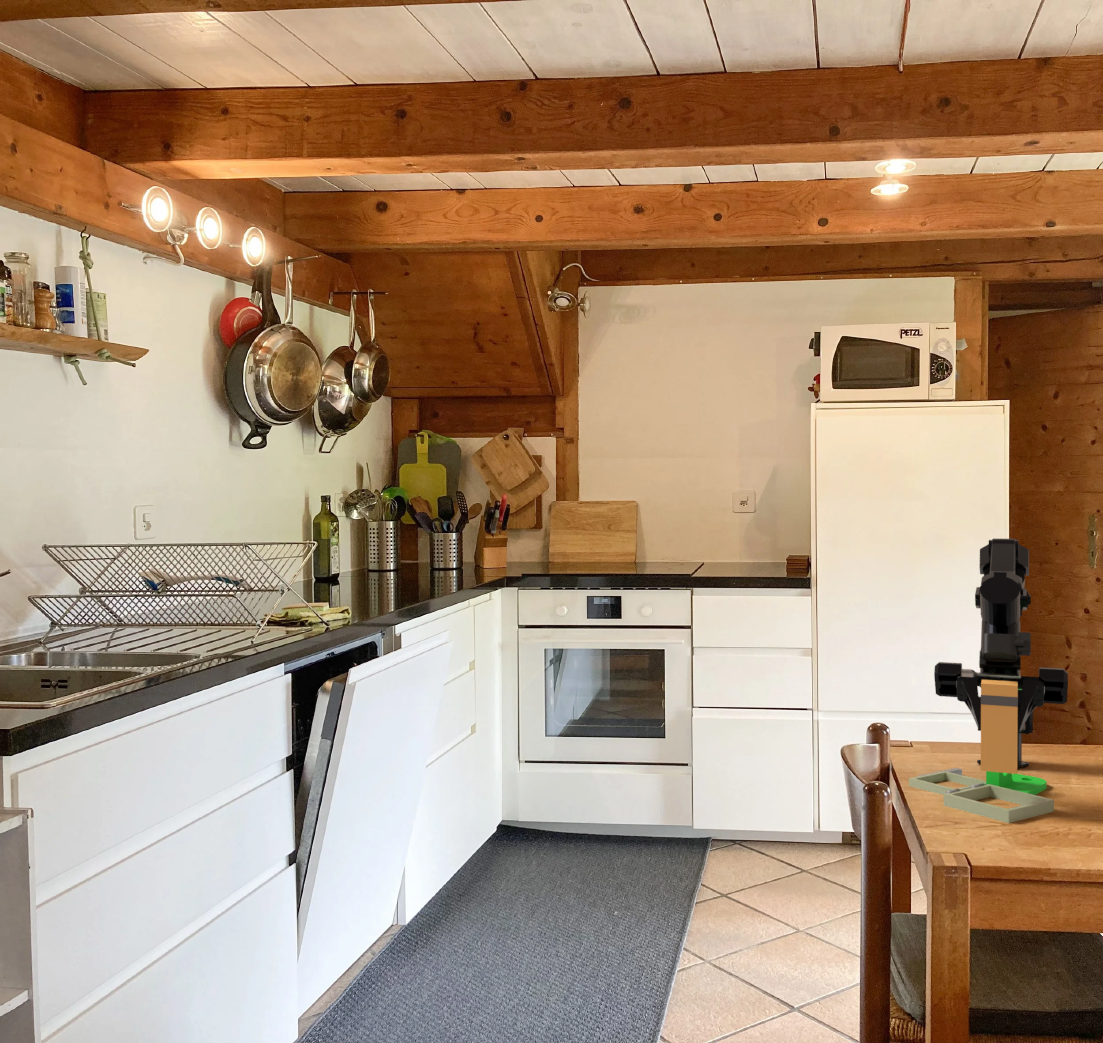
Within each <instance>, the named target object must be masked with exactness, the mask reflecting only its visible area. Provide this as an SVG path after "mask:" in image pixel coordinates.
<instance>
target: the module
mask: <svg viewBox="0 0 1103 1043" xmlns="http://www.w3.org/2000/svg"><path fill="white" fill-rule="evenodd" d="M980 697H981V731H980V760H981V764H980V771H982V772H986V771H990V772H1001V773H1012V774H1018V768H1017V728H1018V682H1015V681H998V680H982V681H981V688H980Z"/></svg>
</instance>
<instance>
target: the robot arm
mask: <svg viewBox="0 0 1103 1043" xmlns="http://www.w3.org/2000/svg"><path fill="white" fill-rule="evenodd" d="M1019 542H1020V540H1019V539H1016V538H992V539H988V544H986V545H985V546H983V547H981V548H980V549H979V574H980V575H983V576H982V577H981V580H980V581H981V583H980V586H976V588H975V593H974V604H975V607H976V609H980V616H981V617H980V618H981V627H980V628H981V632H980V634H981V635H980V650H979V661H978V665H979V668H980V669H979V668H978V669H979V671H978V672H976V671H975V670H973V669H970V668H966V669H965V668H963V663H962V662H944V661H938V662H937V663H936V664H935V665H934V671H933V672H934V673H933V674H934V688H935V695H937V696H939V697H945V698H946V697H947V698H956V699H957V701H958V702H963V703H964V704H965V706H967V708H968V709H969V711H970V713H971V715H972V718H973V719H974V723H975V725H976V727H977V731H979V732H981V696H980V695H979V689H981V681H982V680H998V681H1015V682H1018V728H1017V769H1019V768H1024V767H1029V766H1030V762H1028V761H1023V760H1022V758H1023V757H1022V756H1023V752H1022V748H1023V747H1022V746H1023V745H1022V744H1023V742H1022V741H1023V740H1022V739H1023V738H1022V736H1023V735H1029V734H1033V733H1034V730H1033V729H1034V710H1035V709H1036V708H1037V707H1043V706H1044V704H1054V705H1055V704H1056V705H1058V704H1059V705H1064V704H1066V703H1067V702H1068V693H1069V692H1068V689H1069V688H1068V687H1069V675H1068V674H1069V673H1068V672H1067V671H1066V670H1065V668H1061V667H1038V676H1028V675H1027V676H1025V675H1024V676H1023V675H1021V669H1022V668H1021V664H1022V662H1021V658H1022V656H1027V657H1029V656H1031V652H1032V651H1031V650H1032V646H1031V645H1032V644H1031V642H1032V640H1031V637H1032V635H1031V634H1032V632H1029V631H1028V632H1025V631H1023V632H1022V631H1021V621H1020V617H1022V616H1023V611H1027V609H1028V608H1029V605H1032V595H1031V594H1030V593H1029V591H1027V590H1028V589H1027V588H1025V586H1026V584H1025V582H1026V576H1030V550H1029V548H1027V547H1024V546H1023V545H1021V544H1020V543H1019ZM978 687H979V688H978ZM976 763H977V764H980V765H981V759H977V760H976Z"/></svg>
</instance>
